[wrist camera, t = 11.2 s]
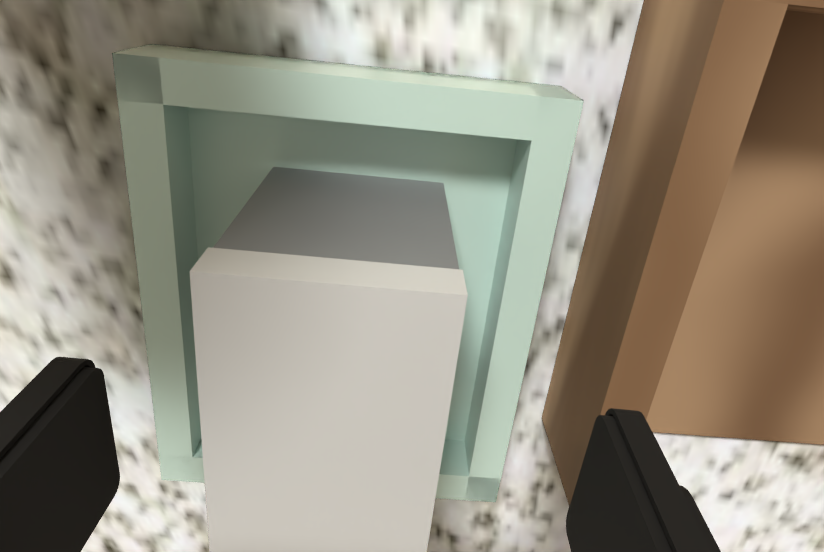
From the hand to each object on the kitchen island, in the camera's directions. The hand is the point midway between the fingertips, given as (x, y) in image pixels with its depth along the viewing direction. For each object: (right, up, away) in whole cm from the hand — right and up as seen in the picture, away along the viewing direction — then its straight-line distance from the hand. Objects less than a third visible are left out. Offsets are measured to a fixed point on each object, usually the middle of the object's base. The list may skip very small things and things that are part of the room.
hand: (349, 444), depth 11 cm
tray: (-1, +3, +6) cm, 7 cm away
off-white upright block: (-1, +3, +6) cm, 7 cm away
